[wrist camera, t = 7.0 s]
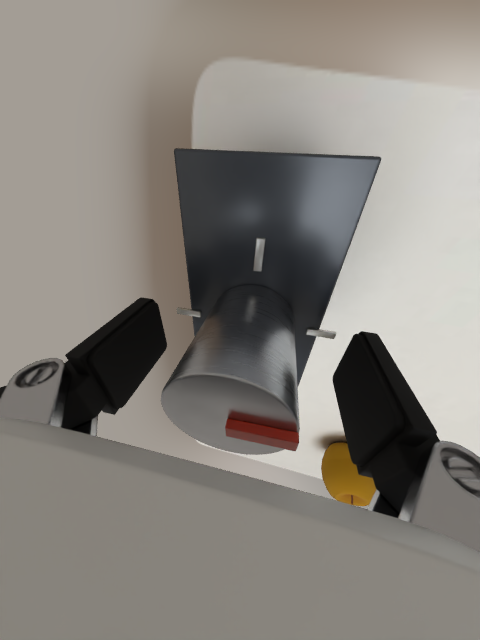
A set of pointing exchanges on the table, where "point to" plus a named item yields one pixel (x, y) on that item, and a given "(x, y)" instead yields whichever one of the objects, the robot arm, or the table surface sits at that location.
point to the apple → (345, 477)
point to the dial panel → (270, 228)
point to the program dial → (239, 376)
